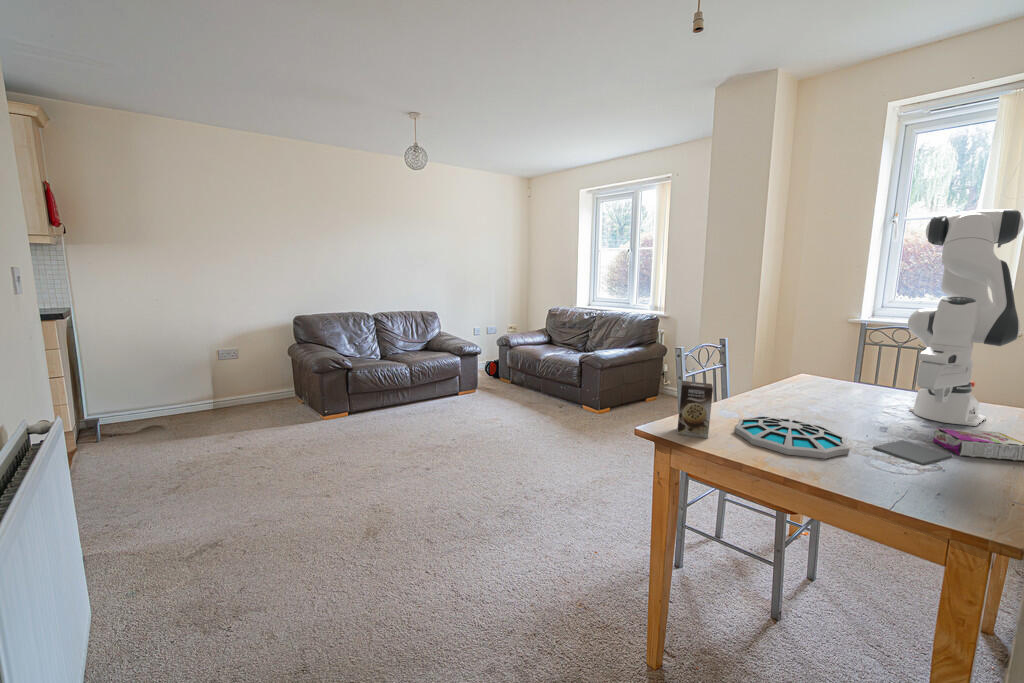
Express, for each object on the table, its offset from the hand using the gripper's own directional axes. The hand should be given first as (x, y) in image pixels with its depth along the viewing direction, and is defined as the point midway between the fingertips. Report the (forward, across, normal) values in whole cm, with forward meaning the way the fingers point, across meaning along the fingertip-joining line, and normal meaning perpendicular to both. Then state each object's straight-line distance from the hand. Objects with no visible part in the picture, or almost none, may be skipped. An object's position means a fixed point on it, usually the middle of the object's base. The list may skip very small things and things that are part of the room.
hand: (940, 401), depth 130 cm
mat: (+14, +9, -1) cm, 17 cm away
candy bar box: (+12, -4, +1) cm, 12 cm away
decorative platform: (+15, +32, -21) cm, 42 cm away
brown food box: (+15, +57, -35) cm, 69 cm away
